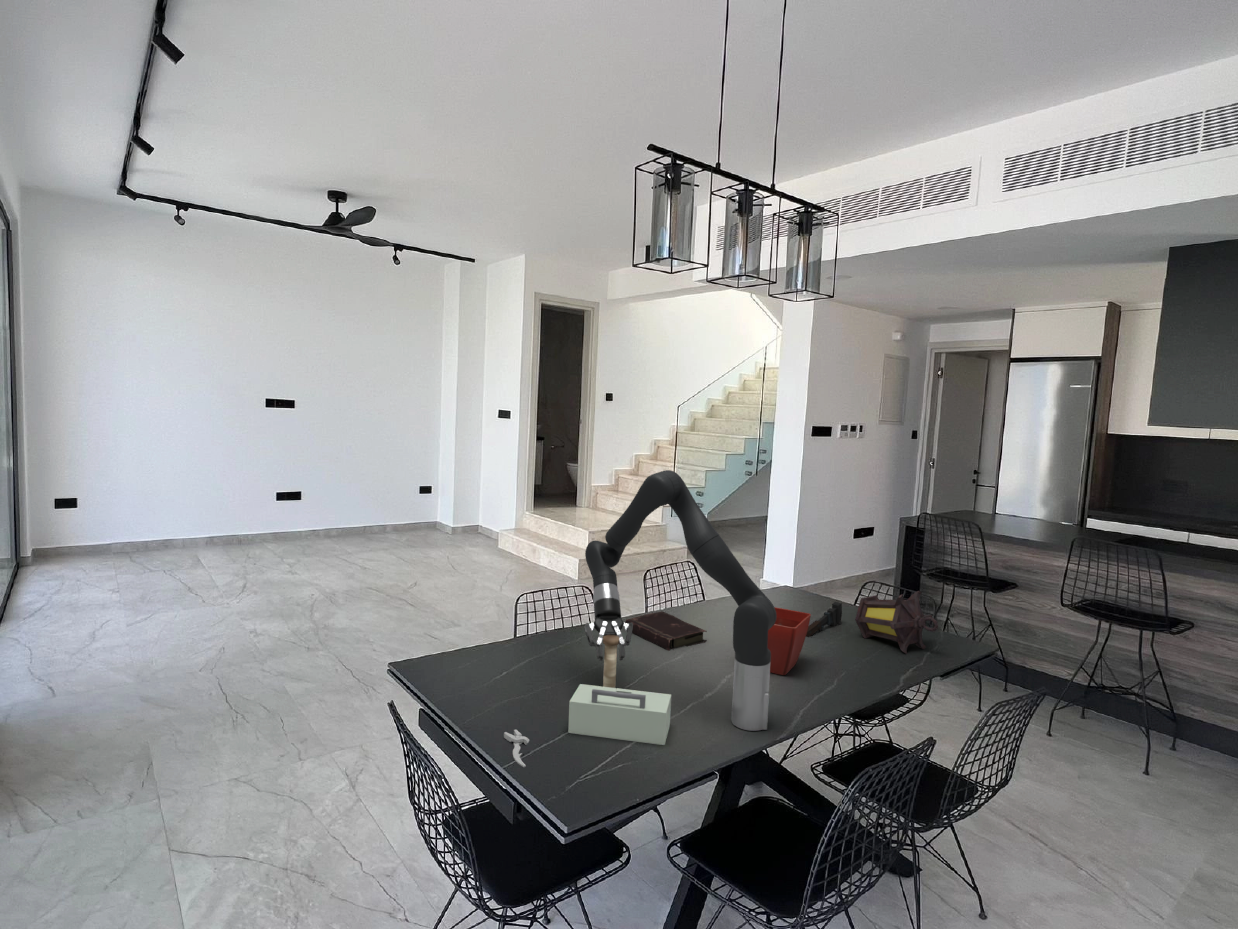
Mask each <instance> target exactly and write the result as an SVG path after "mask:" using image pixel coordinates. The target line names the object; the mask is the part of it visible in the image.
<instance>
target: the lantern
mask: <svg viewBox="0 0 1238 929" xmlns="http://www.w3.org/2000/svg"><path fill="white" fill-rule="evenodd" d="M922 594H923V592H922V591H921V590H917V591H915V592H914V593H912V594H911V595H910V596H909V597H908V598H907V599H904V597H903V596H904V594H900V595H899V596H897V598H896V599H880V598H879V597H878V595H871V596H866V597H862V598H860V600H859V604H858V607H857V612H856V615H855V622H856V625H857V627H858V629H859V632H860V633H861V635H862V637H863V638H864V639H869V638H873V637H878V638H880V639H885V640H888V641H889V640H890V641H893V642H897V644H898V646H899V648H900V649H899V650H900V651H902V652H903V653H904V654H906V655H908V652H907V650H908V647H909V646H910V645H912V644H915V646H917V647H918V648H920V649H922V650H925V649H926V647H927V646H926V645H925V644H924V642H923V629H925V630H926V631H928V632H936V631H937V630H938V628H939V623H938V621H937V620H936V619H935V618H934V617H933V614H924V612H923V610H922V608H921V606H920V597H921V595H922ZM927 621H929V622H930V621H931V622H933V624H934V626H933V627H928V626H927V624H926V622H927Z"/></svg>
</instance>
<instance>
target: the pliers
mask: <svg viewBox="0 0 1238 929" xmlns="http://www.w3.org/2000/svg"><path fill="white" fill-rule="evenodd" d="M503 738H504V739H506V741H508V742H510V743H512V742H513V746H514V748H513V749H512V757H513V759H514V761H515V762H516V763H517V764H518V765H519V766H520V767H522V768H526V767H527V765H526V764H525V763H524V762H523V761H522V759H521V757H522V756H523V755H524V753H523V752H522V753H520V750H521V746H520V745H522V744H524V745H525V746H527V745H528V744H529V742H530V739H529V738H528V737H526V736H524V735H523V734H522V733H521V732H520V731H518V729H513V734H512V733H509V732H507V731H505V732H503Z"/></svg>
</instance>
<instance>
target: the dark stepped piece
mask: <svg viewBox="0 0 1238 929" xmlns="http://www.w3.org/2000/svg"><path fill="white" fill-rule="evenodd" d="M842 604H843V603H842V602H839V601H834V602H833V603H832V604H831V607H832V608H831V607H829V608H828V609H827V610H826V611H825V612H823V616H822V617H820V618H819V619H818V620H817V619H816V620H815V621H813V622H812V623H811V624H809V626H808V630H807V634H806V637H807V638H810V637H811V636H813V635H814V634H815V633H817V631H822V630H824V628H825V626H831V627H836V626H841V623H842V616H843V605H842ZM806 637H805V638H806Z"/></svg>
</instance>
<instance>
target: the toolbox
mask: <svg viewBox="0 0 1238 929" xmlns="http://www.w3.org/2000/svg"><path fill="white" fill-rule="evenodd" d="M568 703H569V704H568V705H569V706H568V728H567V729H568V731H567V732H568V733H569V734H574V735H575V734H576V735H582V736H591V737H598V738H605V739H606V738H607V739H614V740H621V741H629V742H637V743H646V744H653V745H658V746H659V745H660V746H665V745H666V741H667V737H668V735H669V730H670V726H671V712H672V711H671V709H672V694H671V693H660V692H653V691H652V692H651V691H645V690H644V691H643V690H634V689H627V688H626V689H625V688H618V687H617V688H616V687H615V688H610V687H603V686H601V685H600V686H599V685H594V684H593V685H591V684H583V683H582V684H581V683H580V684H579V685H578V687H577V689H576V690H575V692H574V693H573V695H572V697H571V698H570V700H569V702H568Z"/></svg>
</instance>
